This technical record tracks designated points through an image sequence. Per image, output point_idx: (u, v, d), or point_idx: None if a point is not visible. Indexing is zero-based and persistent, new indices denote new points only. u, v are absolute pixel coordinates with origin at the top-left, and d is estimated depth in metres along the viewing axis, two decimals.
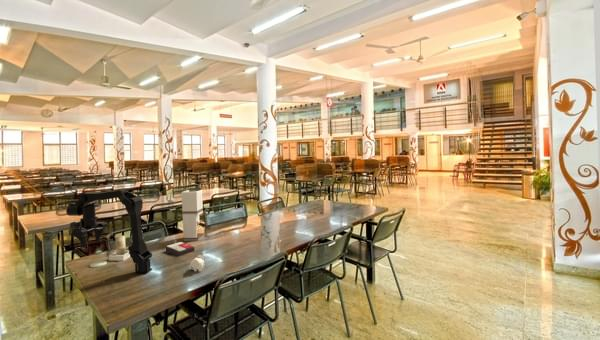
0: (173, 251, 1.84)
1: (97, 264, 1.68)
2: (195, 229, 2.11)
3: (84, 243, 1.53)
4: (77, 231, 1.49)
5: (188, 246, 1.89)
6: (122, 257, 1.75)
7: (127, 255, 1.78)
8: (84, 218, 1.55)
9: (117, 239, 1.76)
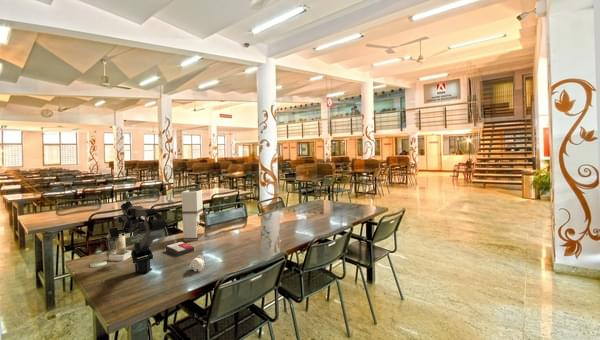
0: (172, 251, 1.84)
1: (97, 264, 1.68)
2: (195, 229, 2.11)
3: (115, 239, 1.68)
4: (110, 233, 1.61)
5: (188, 246, 1.88)
6: (122, 257, 1.75)
7: (127, 255, 1.78)
8: (124, 223, 1.64)
9: None
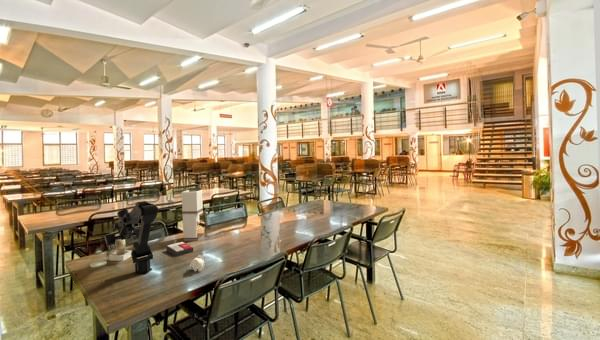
0: (172, 251, 1.84)
1: (97, 264, 1.68)
2: (195, 229, 2.11)
3: (112, 245, 1.73)
4: (107, 239, 1.66)
5: (187, 246, 1.88)
6: (122, 257, 1.75)
7: (127, 255, 1.78)
8: (121, 230, 1.69)
9: None
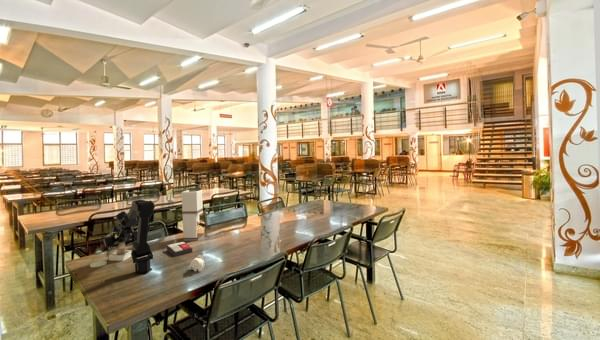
0: (171, 251, 1.84)
1: (97, 264, 1.68)
2: (195, 229, 2.11)
3: None
4: (105, 242, 1.68)
5: (186, 247, 1.87)
6: (122, 257, 1.75)
7: (127, 255, 1.78)
8: (119, 233, 1.70)
9: None
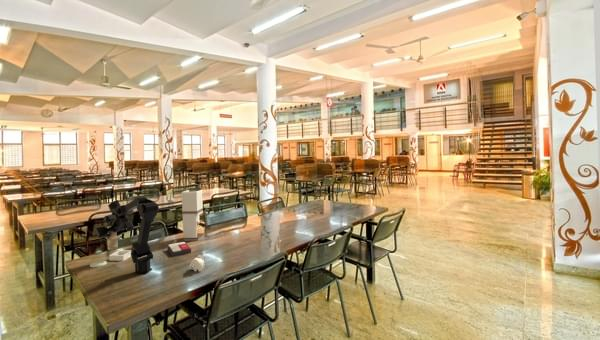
0: (170, 251, 1.85)
1: (97, 264, 1.68)
2: (195, 229, 2.11)
3: (106, 237, 1.72)
4: (98, 232, 1.64)
5: (185, 247, 1.87)
6: (122, 257, 1.75)
7: (127, 255, 1.78)
8: (113, 222, 1.67)
9: None
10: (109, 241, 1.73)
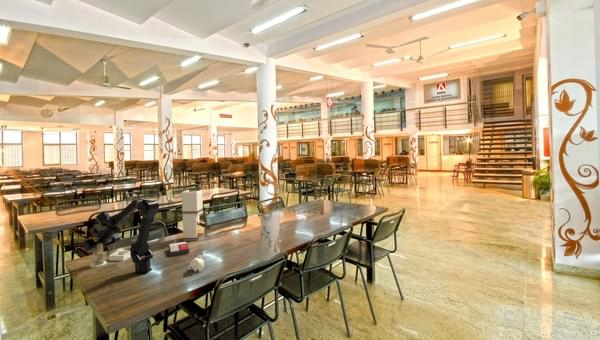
0: (169, 250, 1.85)
1: None
2: (195, 229, 2.11)
3: (89, 251, 1.63)
4: (88, 245, 1.57)
5: (184, 247, 1.86)
6: (122, 257, 1.75)
7: (127, 255, 1.78)
8: (102, 233, 1.62)
9: None
10: (96, 256, 1.66)
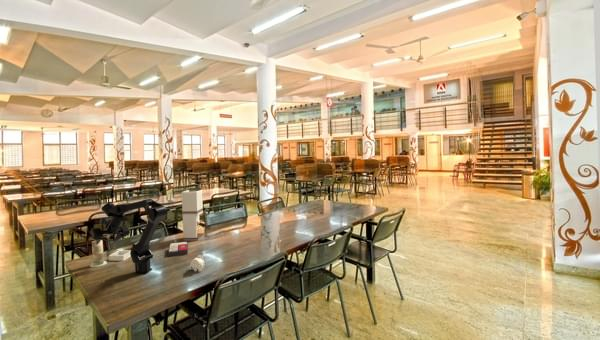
0: None
1: None
2: (195, 229, 2.11)
3: (97, 242, 1.62)
4: (94, 233, 1.56)
5: (182, 248, 1.85)
6: (122, 257, 1.75)
7: (127, 255, 1.78)
8: (109, 223, 1.61)
9: (95, 244, 1.66)
10: (95, 256, 1.66)
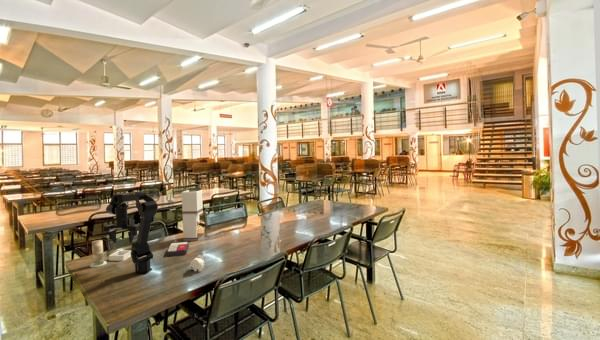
0: None
1: None
2: (195, 229, 2.11)
3: None
4: None
5: (181, 248, 1.85)
6: (122, 257, 1.75)
7: (127, 255, 1.78)
8: None
9: (95, 244, 1.66)
10: (95, 256, 1.66)
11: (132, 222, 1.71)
